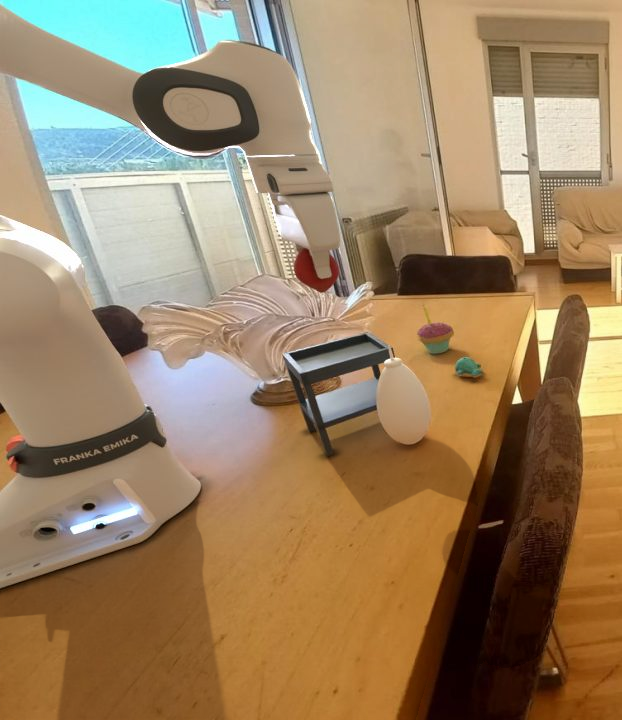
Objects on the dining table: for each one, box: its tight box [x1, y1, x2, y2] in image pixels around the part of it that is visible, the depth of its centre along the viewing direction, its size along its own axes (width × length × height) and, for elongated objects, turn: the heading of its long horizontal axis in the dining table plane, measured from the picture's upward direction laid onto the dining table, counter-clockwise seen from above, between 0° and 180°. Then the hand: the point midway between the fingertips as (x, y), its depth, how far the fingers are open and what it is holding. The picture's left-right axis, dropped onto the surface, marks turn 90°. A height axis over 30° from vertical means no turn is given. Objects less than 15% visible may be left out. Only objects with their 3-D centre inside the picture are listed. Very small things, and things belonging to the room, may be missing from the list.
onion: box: [293, 248, 340, 294], centre depth 73 cm, size 6×6×8 cm
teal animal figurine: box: [454, 356, 485, 379], centre depth 105 cm, size 6×7×4 cm
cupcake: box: [416, 304, 455, 355], centre depth 118 cm, size 9×8×12 cm
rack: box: [281, 331, 396, 457], centre depth 84 cm, size 14×12×15 cm
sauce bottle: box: [376, 344, 432, 445], centre depth 78 cm, size 8×8×18 cm
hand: (318, 274), depth 73 cm, fingers closed on onion, 6 cm apart
